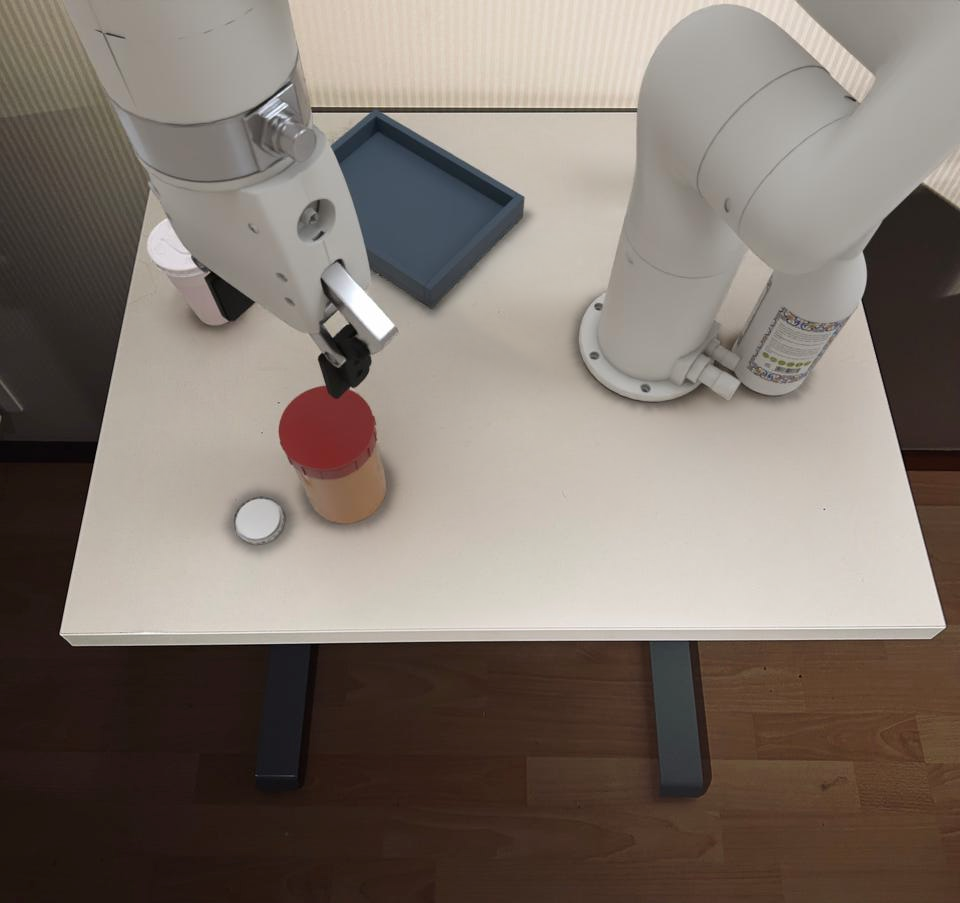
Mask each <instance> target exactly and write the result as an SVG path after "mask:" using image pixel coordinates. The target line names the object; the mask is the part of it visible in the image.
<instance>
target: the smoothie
mask: <svg viewBox="0 0 960 903" xmlns="http://www.w3.org/2000/svg"><path fill="white" fill-rule="evenodd" d="M146 241H147V243H146V250H147V253H148V256H149V257H150V260H151V263H152V265H153V266H154V267H155V268H156V269H157V270H158V271H159V272H161V273H162V274H164V275H165V276H166V278H167V279H168V280H169V281H170V282H171V283H172V285H173V286H174V288H175V289H176V290H177V292H179V294H180V295H181V296H182V298H183V299H184V301H186V303H187V305H188V306H189V307H190V309H192V311H193V313H195V315H196V316H197V317H198V318H199V320H200V321H201V322H202V323H203V324H205V325H208V326H214V327H215V326H222V325H225V324H227V323H228V322H229V321H228V320H226V319H225V318H224V317H222V315H221V313H220V311H219V309H218V307H217V305H216V302H215V300H214V298H213V296H212V294H211V292H210V290H209V287H208V285H207V283H206V281H205V279H204V277H205V276H207V275H208V274H209V273H210V271H209V272H207V273H204V272H202V271H201V270H200V269H199V268H198V267H197V266H196V265H195V264H194V262H193V261H192V259H191V255H192V254H191V253H190V252H189V251H188V250H187V249H186V248H185V247H184V246H183V244H182V243H181V241H180V240H179V238H178V237H177V235H176V233H175V231H174V230H173V228H172V226H171V224H170V222H169V220H168V218H167V217H166V218H165V219H163V220H161V221H160V222H159V223H157V224H156V225H155V227H154V228H152V230H151V231H150V233H149V235H148V238H147V240H146Z"/></svg>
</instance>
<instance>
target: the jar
mask: <svg viewBox="0 0 960 903" xmlns="http://www.w3.org/2000/svg"><path fill="white" fill-rule="evenodd" d="M383 465H384V464H383V461H382V456H381V452H380V448H379V444H378V440H377V441H376V445H375V448H374V450H373V453H372V455H371V457H370V458H369V459H368V460H367V462H366V463H365V464H364V465H363V466H362V467H361V468H359V470H357V471H355V472H353V473H352V474H350V475H347V476H345V477H342V478H338V479H332V480H322V479H316V478H312V477H309V476H307V475H304V474H303V473H301V472H300V471H298V470H297V469H296V468H295V467H294V466H293V468H294V470H295V472H296V475H297V477H298V479H299V481H300V484H301V485H302V488H303V490H304V492H305V494H306V497H307V498H308V501H309V503H310V505H311V507H312V508H313V509H314V511H315V512H316V513H317V514H318V515H319V516H320V517H322V519H325V520H327V521H329V522H332V523H336V524H344V525H345V524H353V523H358V522H360V521H363V520H365V519H367V518H368V517H370V516H371V515H373V514H374V513H375V512H376V511H377V510H378V508H380V506H381V504H382V503H383V501H384V498H385V496H386V493H387V479H386V475H385V470H384V466H383Z"/></svg>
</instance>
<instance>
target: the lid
mask: <svg viewBox="0 0 960 903" xmlns="http://www.w3.org/2000/svg"><path fill="white" fill-rule="evenodd" d="M377 433H378V432H377V422H376V418H375V415H374V414H373V411H372V408H371V407H370V405H369V403H368V402H367V401H366V400H365V398H363V397H362V396H361V395H360V394H359V393H357V392H356V391H354V390H352V389H350V388H349V389H348V390H347V391H346V392H345V393H344V394H343V395H342V396H341V397H340V398H338V399H335V398H333V397H332V396H330V395H329V394H328V391H327V388H326V385H320V386H316V387H312V388H310V389H308V390H305V391H303V392H302V393H300V394H298V395H297V396H296V397H294V398H293V399H292V400H291V401H290V402H289V403H288V404H287V406H286V407H285V409H284V410H283V412H282V414H281V417H280V419H279V424H278V439H279V445H280V446H281V449H282V451H283V452H284V454H285V455H286V458H287V460H288V463H289V464H290V466H293V468H294V467H295V468H296V469H297V470H298V471H300V472H301V473H303V474H304V475H307V476H309V477H312V478H316V479H322V480H332V479H338V478H342V477H345V476H347V475H350V474H352V473H353V472H355V471H357V470H359V468H361V467H362V466H363V465H364V464H365V463H366V462H367V460H368V459H369V458H370V457H371V455H372V453H373V450H374V448H375V445H376V441H377V442H378V437H377ZM295 468H294V469H295Z"/></svg>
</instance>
